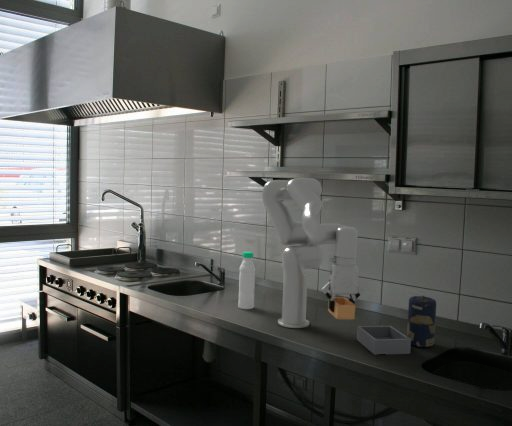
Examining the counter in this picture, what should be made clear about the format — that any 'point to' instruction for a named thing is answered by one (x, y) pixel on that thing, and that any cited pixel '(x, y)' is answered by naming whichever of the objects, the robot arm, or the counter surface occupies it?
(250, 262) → the water bottle
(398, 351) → the big crate
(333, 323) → the counter surface
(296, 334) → the counter surface
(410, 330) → the canister
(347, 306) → the small crate
